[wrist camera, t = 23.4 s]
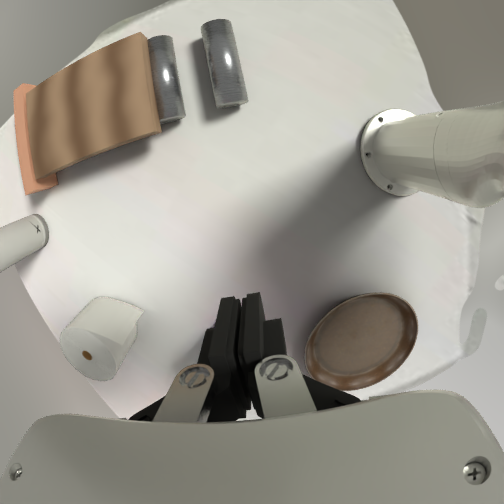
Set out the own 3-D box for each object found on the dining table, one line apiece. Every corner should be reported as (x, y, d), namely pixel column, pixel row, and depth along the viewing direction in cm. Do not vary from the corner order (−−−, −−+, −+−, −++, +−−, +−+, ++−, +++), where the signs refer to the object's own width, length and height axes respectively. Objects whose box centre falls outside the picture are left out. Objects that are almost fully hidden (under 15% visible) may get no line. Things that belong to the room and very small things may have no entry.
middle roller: (177, 39, 29) (161, 32, 25) (191, 115, 33) (174, 113, 29) (154, 50, 30) (137, 45, 27) (166, 123, 34) (149, 123, 31)
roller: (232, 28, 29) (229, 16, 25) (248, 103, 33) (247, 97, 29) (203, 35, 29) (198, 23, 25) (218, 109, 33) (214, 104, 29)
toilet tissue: (82, 326, 45) (57, 357, 36) (95, 278, 42) (64, 307, 32) (129, 355, 47) (109, 390, 38) (148, 311, 43) (125, 347, 34)
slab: (147, 38, 26) (140, 31, 24) (161, 132, 31) (154, 131, 28) (36, 94, 28) (26, 93, 25) (46, 177, 32) (35, 179, 30)
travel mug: (50, 215, 38) (-36, 256, 19) (49, 251, 40) (-28, 301, 21) (27, 208, 38) (-54, 243, 19) (27, 242, 40) (-47, 286, 21)
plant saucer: (294, 299, 42) (297, 310, 39) (414, 272, 41) (423, 280, 38) (307, 388, 49) (309, 400, 46) (404, 363, 47) (411, 373, 44)
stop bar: (45, 87, 31) (23, 83, 25) (58, 184, 36) (35, 190, 31) (35, 93, 31) (13, 90, 25) (48, 188, 37) (25, 195, 31)
